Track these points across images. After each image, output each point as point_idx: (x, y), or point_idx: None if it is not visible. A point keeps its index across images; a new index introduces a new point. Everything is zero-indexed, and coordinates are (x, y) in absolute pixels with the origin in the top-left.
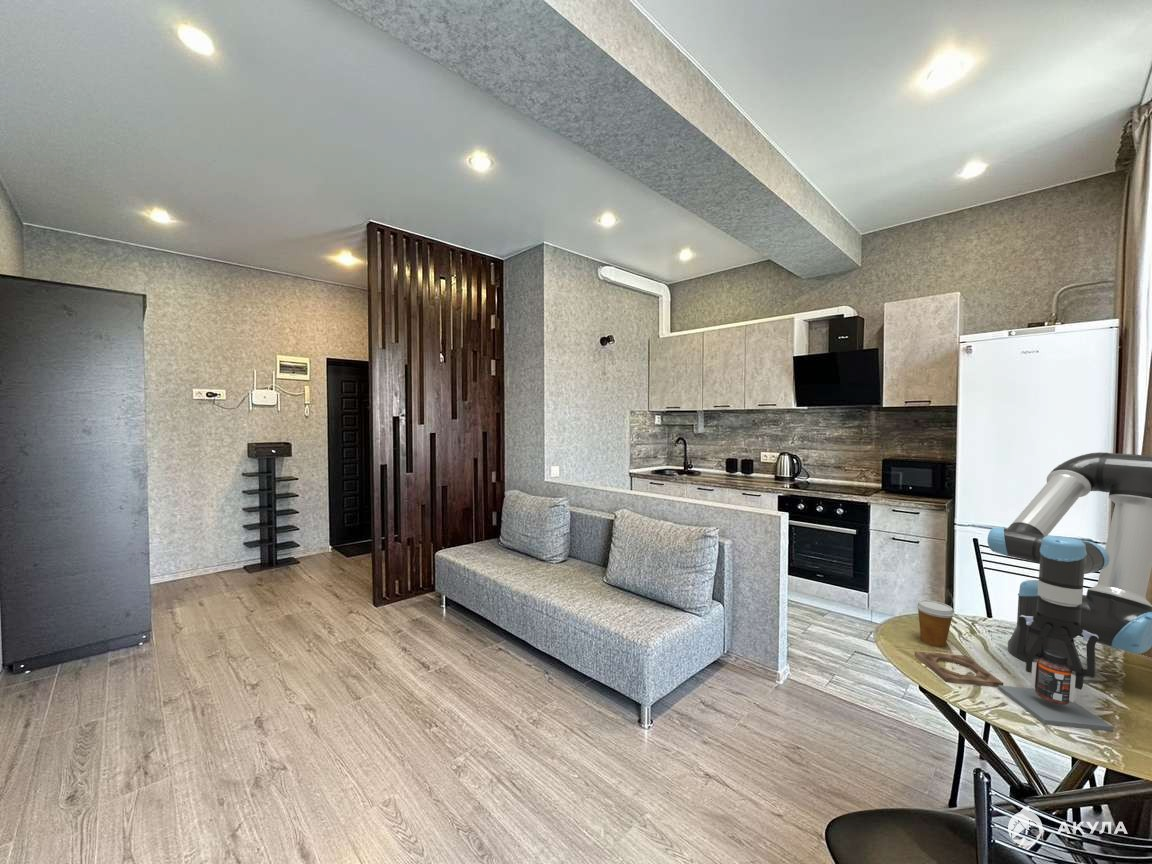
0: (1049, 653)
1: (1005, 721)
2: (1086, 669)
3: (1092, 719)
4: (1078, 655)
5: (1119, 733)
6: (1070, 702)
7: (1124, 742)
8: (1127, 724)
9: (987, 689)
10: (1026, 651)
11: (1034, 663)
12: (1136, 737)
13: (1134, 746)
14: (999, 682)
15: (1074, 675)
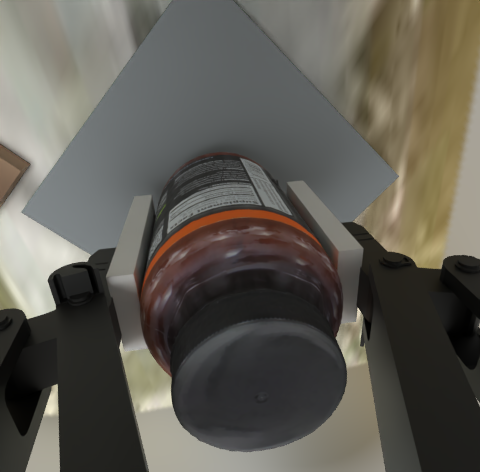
0: (227, 439)
1: (156, 407)
2: (441, 298)
3: (342, 181)
4: (455, 360)
5: (406, 166)
6: (266, 82)
7: (411, 223)
8: (443, 35)
9: (13, 251)
10: (45, 354)
11: (137, 343)
12: (450, 141)
13: (433, 223)
14: (9, 184)
15: (350, 320)
